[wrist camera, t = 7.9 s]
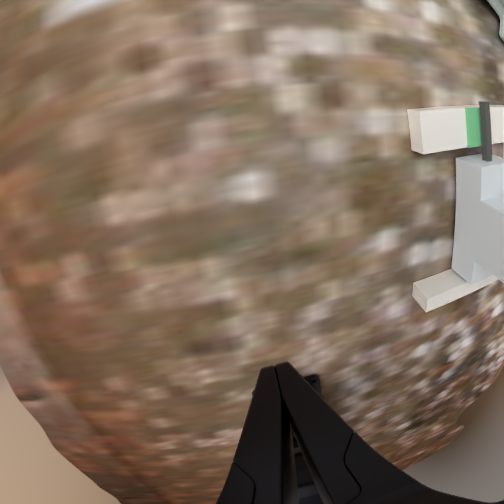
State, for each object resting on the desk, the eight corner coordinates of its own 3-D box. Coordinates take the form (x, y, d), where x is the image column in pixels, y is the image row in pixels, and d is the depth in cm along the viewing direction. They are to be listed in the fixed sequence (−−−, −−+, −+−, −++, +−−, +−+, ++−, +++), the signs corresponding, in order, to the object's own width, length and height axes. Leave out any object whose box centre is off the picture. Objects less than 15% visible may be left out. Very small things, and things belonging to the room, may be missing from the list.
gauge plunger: (480, 256, 24) (531, 298, 18) (451, 267, 24) (502, 315, 18) (483, 99, 18) (555, 114, 11) (451, 100, 18) (527, 113, 11)
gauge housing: (509, 255, 26) (539, 278, 21) (412, 296, 26) (441, 330, 21) (517, 104, 18) (557, 114, 14) (407, 109, 18) (452, 116, 14)
